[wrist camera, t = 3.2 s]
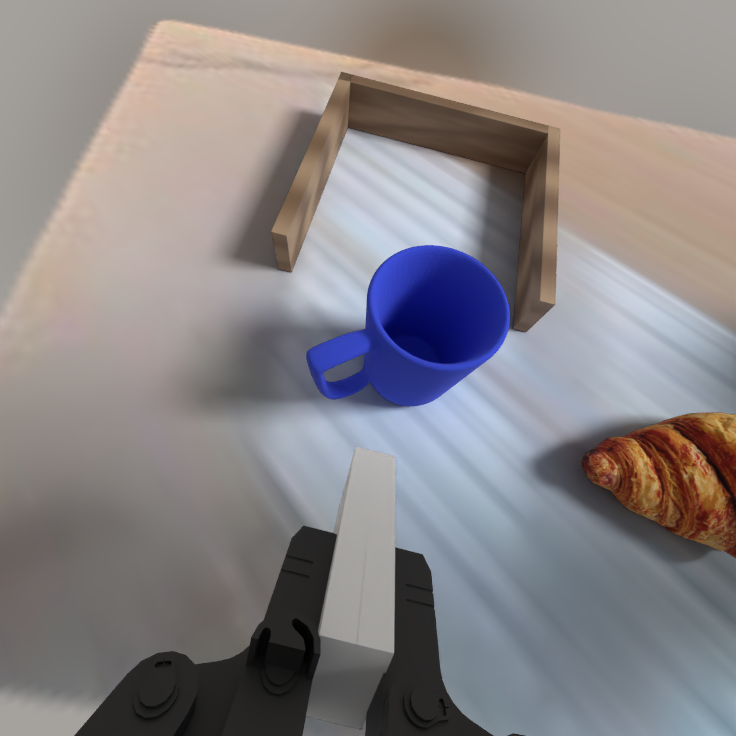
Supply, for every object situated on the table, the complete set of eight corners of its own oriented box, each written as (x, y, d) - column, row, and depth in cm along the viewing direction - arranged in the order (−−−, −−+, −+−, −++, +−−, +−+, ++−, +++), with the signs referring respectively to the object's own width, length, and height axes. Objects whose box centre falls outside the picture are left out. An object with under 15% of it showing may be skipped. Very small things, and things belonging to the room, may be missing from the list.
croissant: (759, 465, 34) (842, 404, 29) (876, 585, 26) (1018, 530, 21) (539, 443, 32) (587, 373, 27) (594, 566, 24) (675, 500, 19)
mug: (293, 363, 29) (277, 290, 20) (423, 311, 32) (462, 228, 23) (336, 459, 27) (341, 426, 17) (473, 393, 30) (539, 336, 20)
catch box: (526, 332, 32) (555, 304, 28) (278, 268, 32) (271, 231, 28) (536, 168, 41) (560, 128, 37) (340, 117, 41) (341, 71, 36)
